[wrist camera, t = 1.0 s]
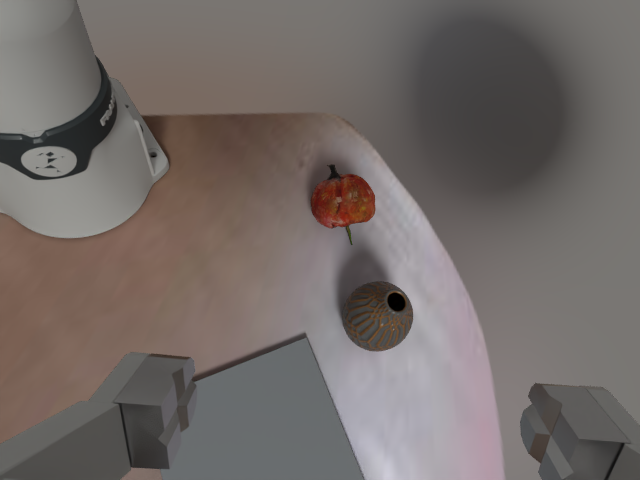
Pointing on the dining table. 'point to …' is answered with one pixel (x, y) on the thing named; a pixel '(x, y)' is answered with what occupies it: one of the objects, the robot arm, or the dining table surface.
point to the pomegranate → (342, 201)
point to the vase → (377, 316)
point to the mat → (265, 424)
